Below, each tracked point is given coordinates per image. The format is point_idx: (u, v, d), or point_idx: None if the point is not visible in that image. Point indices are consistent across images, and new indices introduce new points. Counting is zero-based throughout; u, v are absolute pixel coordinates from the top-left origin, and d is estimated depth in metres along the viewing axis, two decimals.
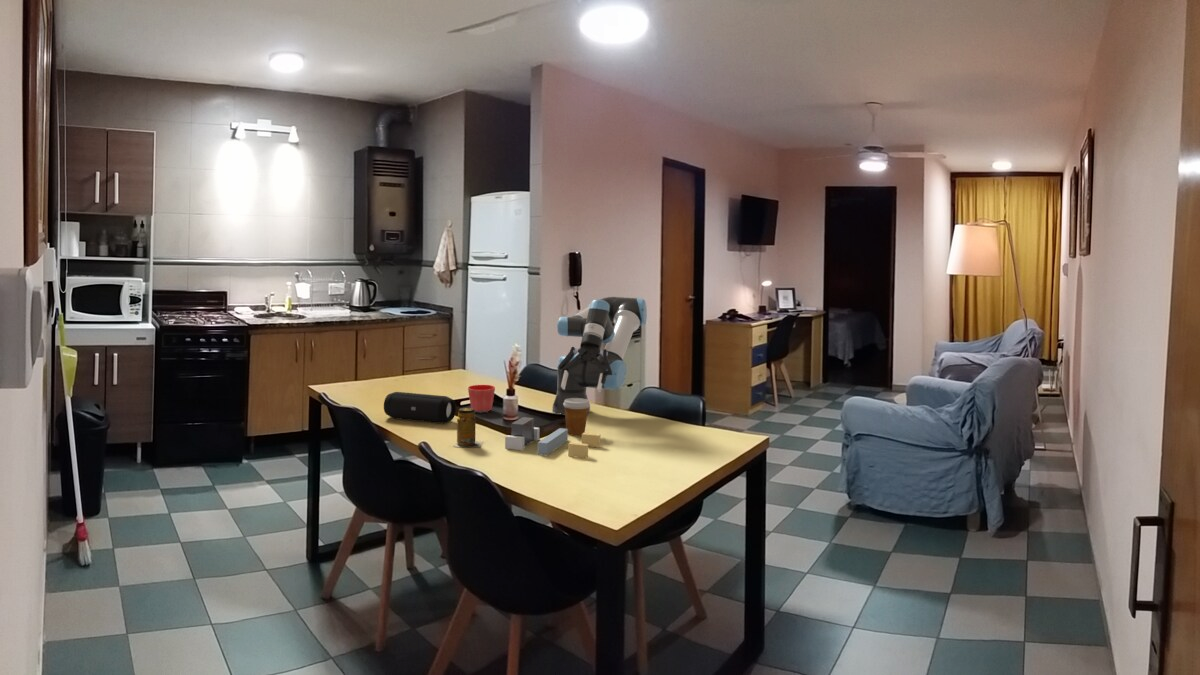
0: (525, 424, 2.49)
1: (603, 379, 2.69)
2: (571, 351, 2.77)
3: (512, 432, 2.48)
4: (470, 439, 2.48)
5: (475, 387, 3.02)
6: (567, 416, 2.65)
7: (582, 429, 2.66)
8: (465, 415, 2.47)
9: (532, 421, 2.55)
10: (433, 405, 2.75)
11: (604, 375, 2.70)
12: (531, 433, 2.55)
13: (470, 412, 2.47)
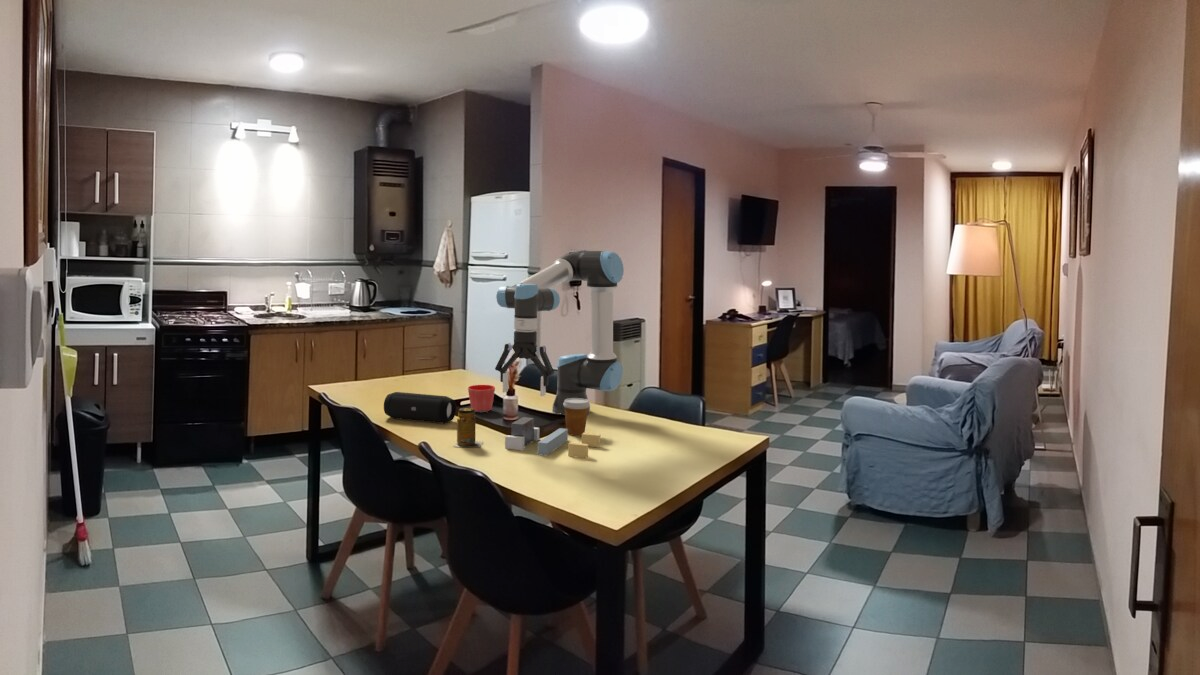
0: (525, 424, 2.49)
1: (545, 382, 2.48)
2: (505, 350, 2.50)
3: (512, 432, 2.48)
4: (470, 439, 2.48)
5: (475, 387, 3.02)
6: (567, 416, 2.65)
7: (582, 429, 2.66)
8: (465, 415, 2.47)
9: (532, 421, 2.55)
10: (433, 405, 2.75)
11: (545, 378, 2.48)
12: (531, 433, 2.55)
13: (470, 412, 2.47)
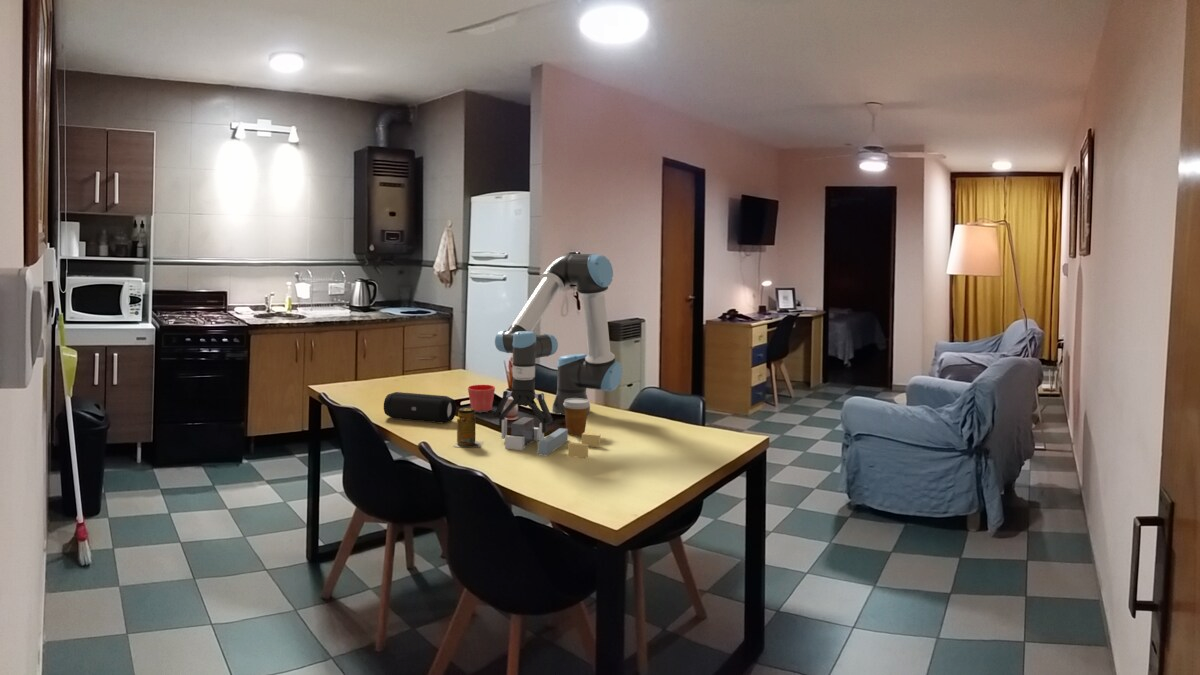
0: (525, 424, 2.49)
1: (544, 429, 2.50)
2: (504, 397, 2.52)
3: (512, 432, 2.48)
4: (470, 439, 2.48)
5: (475, 387, 3.02)
6: (567, 416, 2.65)
7: (582, 429, 2.66)
8: (465, 415, 2.47)
9: (532, 421, 2.55)
10: (433, 405, 2.75)
11: (544, 425, 2.49)
12: (531, 433, 2.55)
13: (470, 412, 2.47)
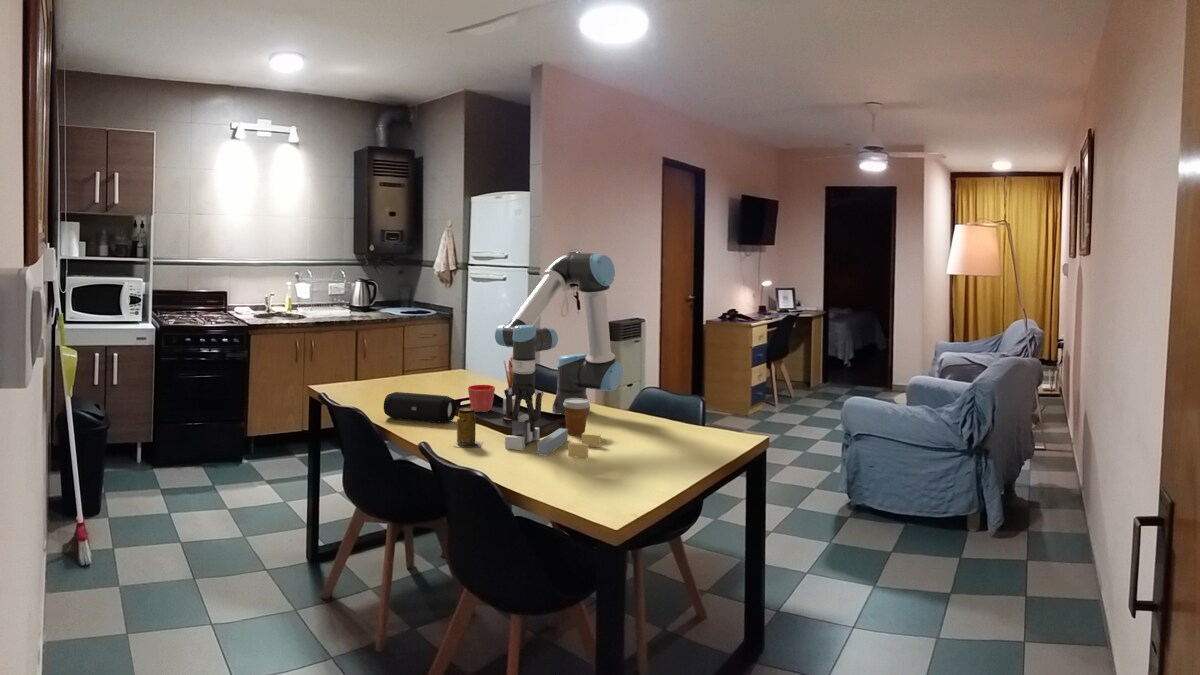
0: (526, 421, 2.50)
1: (532, 428, 2.51)
2: (507, 395, 2.52)
3: (513, 429, 2.49)
4: (470, 439, 2.48)
5: (475, 387, 3.02)
6: (567, 416, 2.65)
7: (582, 429, 2.66)
8: (465, 415, 2.47)
9: None
10: (434, 404, 2.75)
11: (532, 424, 2.51)
12: None
13: (470, 412, 2.47)
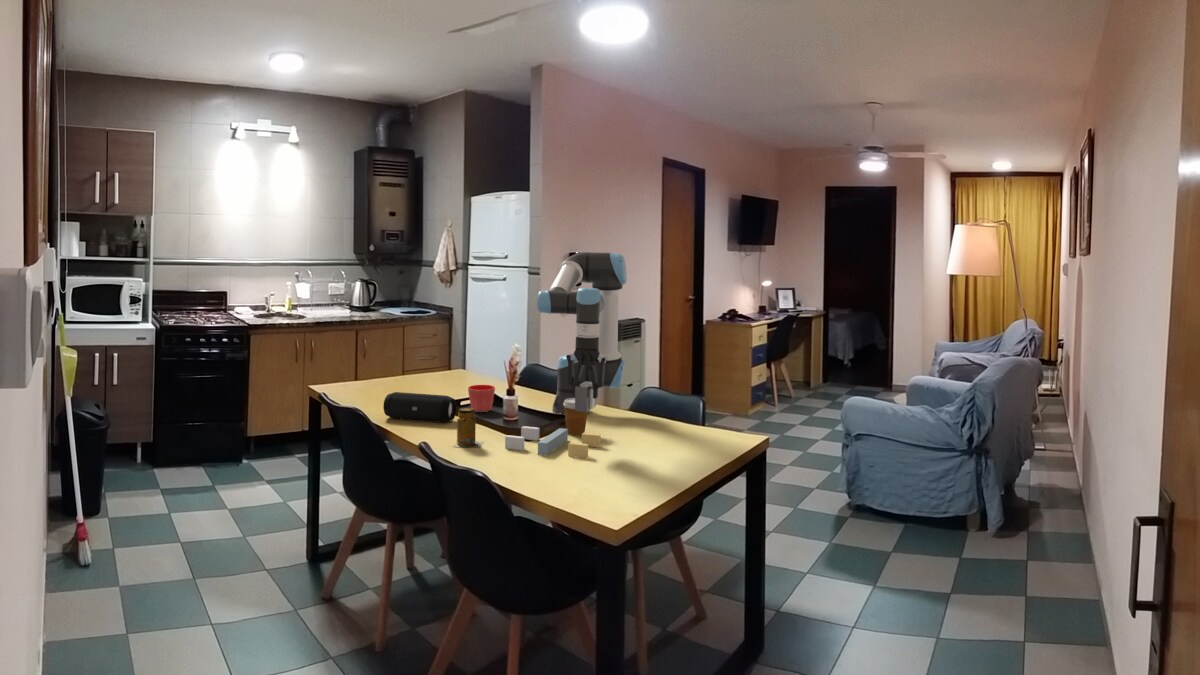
0: (589, 387, 2.41)
1: (595, 395, 2.43)
2: (569, 360, 2.44)
3: (576, 395, 2.40)
4: (470, 439, 2.48)
5: (475, 387, 3.02)
6: (567, 416, 2.65)
7: (582, 429, 2.66)
8: (465, 415, 2.47)
9: None
10: (434, 404, 2.75)
11: (595, 390, 2.43)
12: None
13: (470, 412, 2.47)
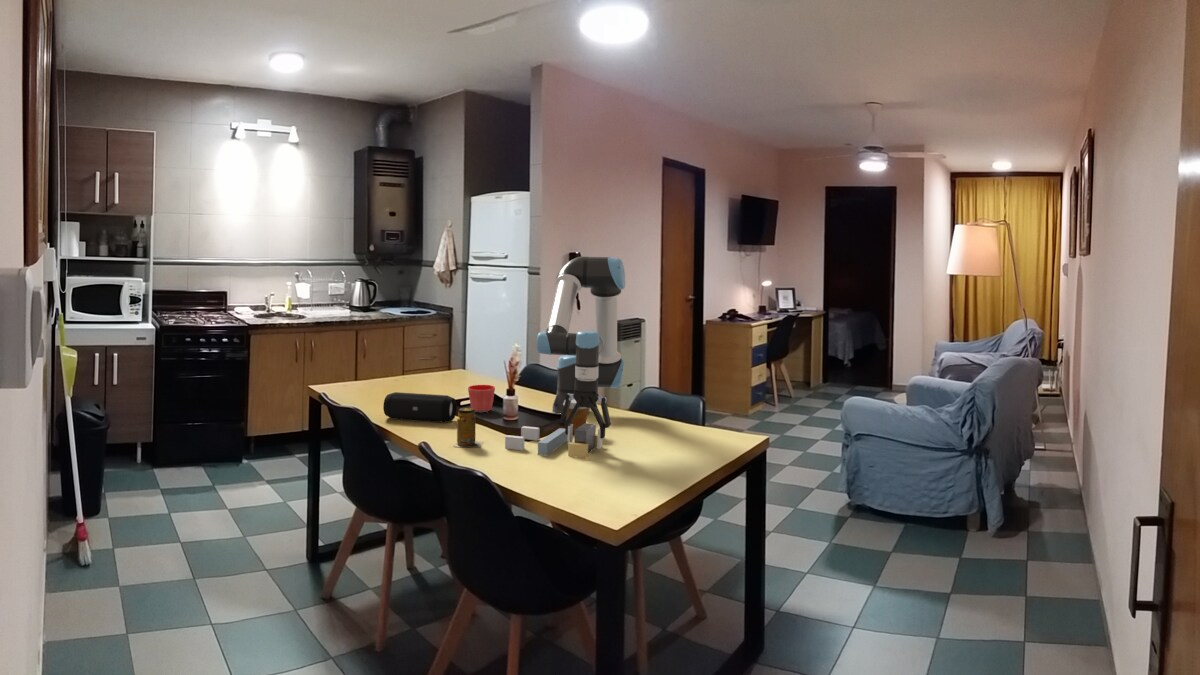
0: (588, 431, 2.43)
1: (602, 435, 2.44)
2: (567, 400, 2.45)
3: (575, 439, 2.42)
4: (470, 439, 2.48)
5: (475, 387, 3.02)
6: (567, 416, 2.65)
7: None
8: (465, 415, 2.47)
9: (594, 427, 2.49)
10: (435, 404, 2.76)
11: (602, 430, 2.43)
12: (593, 440, 2.49)
13: (470, 412, 2.47)
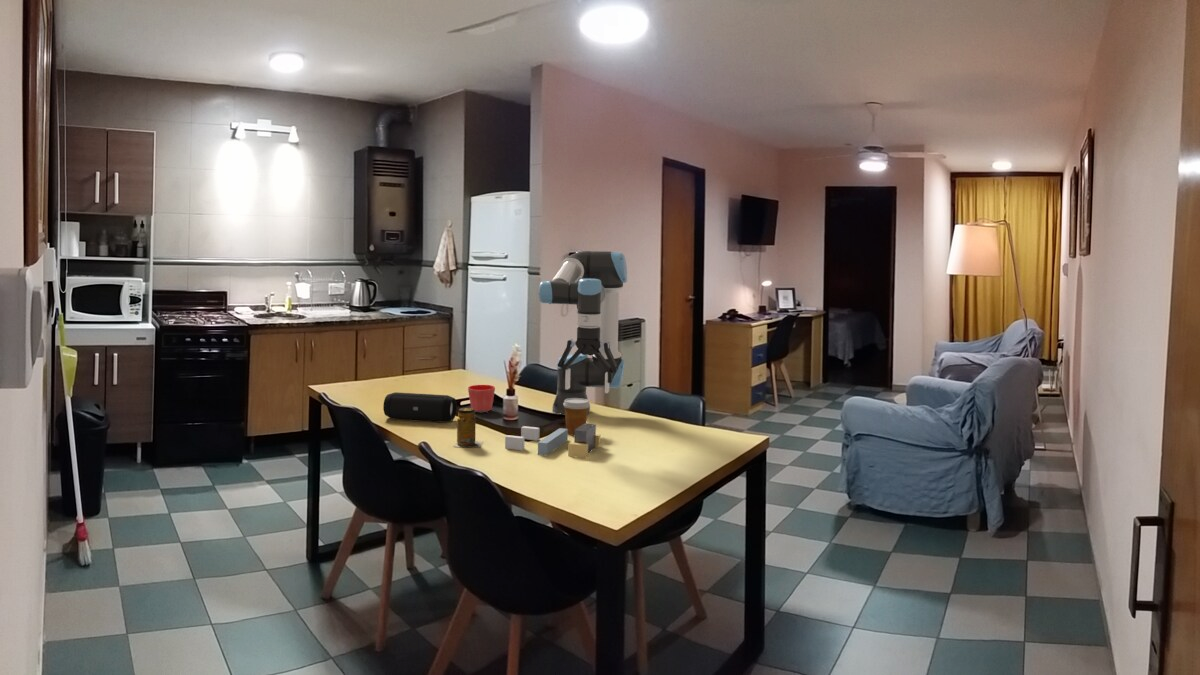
0: (588, 431, 2.43)
1: (609, 379, 2.44)
2: (568, 346, 2.46)
3: (575, 439, 2.42)
4: (470, 439, 2.48)
5: (475, 387, 3.02)
6: (567, 416, 2.65)
7: None
8: (465, 415, 2.47)
9: (594, 427, 2.49)
10: (436, 404, 2.76)
11: (610, 374, 2.43)
12: (593, 440, 2.49)
13: (470, 412, 2.47)
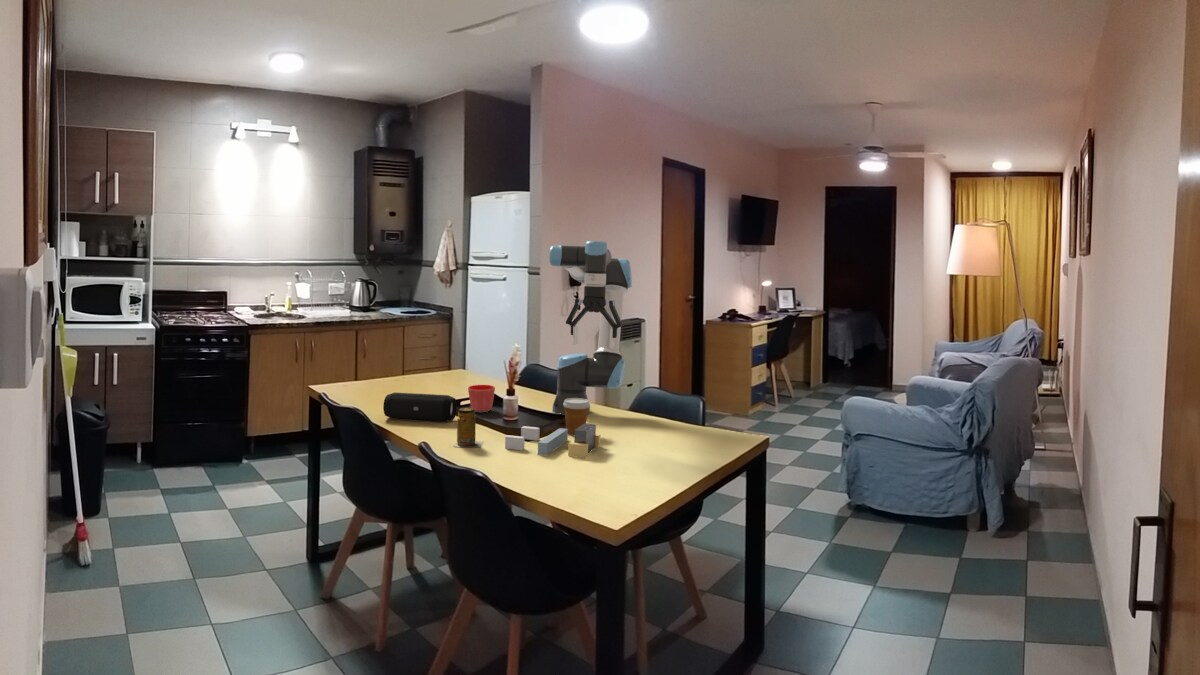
0: (588, 431, 2.43)
1: (614, 334, 2.62)
2: (576, 304, 2.64)
3: (575, 439, 2.42)
4: (470, 439, 2.48)
5: (475, 387, 3.02)
6: (567, 416, 2.65)
7: None
8: (465, 415, 2.47)
9: (594, 427, 2.49)
10: (436, 404, 2.76)
11: (614, 330, 2.61)
12: (593, 440, 2.49)
13: (470, 412, 2.47)
